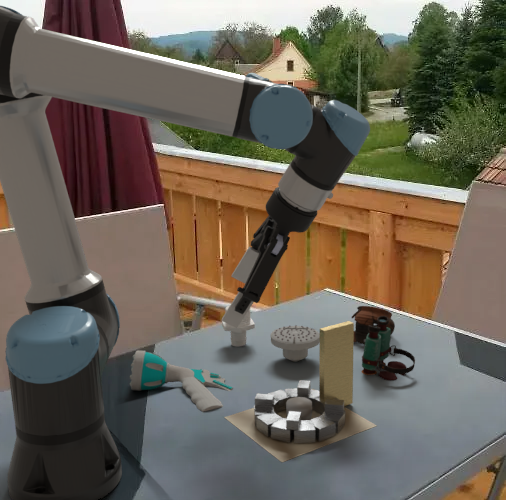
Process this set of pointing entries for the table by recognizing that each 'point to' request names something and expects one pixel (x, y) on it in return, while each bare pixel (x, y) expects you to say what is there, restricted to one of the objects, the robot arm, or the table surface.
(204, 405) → the garden hose nozzle
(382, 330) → the binoculars
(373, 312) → the brown leather pouch
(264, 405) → the block ring with board
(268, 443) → the base
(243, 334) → the pipe fitting
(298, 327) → the showerhead
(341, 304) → the table surface
